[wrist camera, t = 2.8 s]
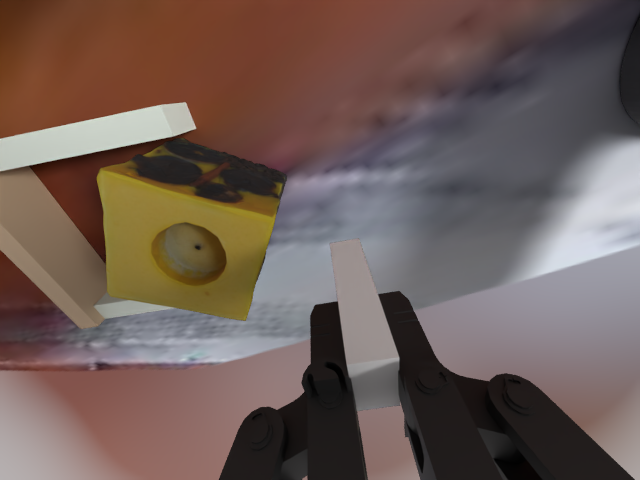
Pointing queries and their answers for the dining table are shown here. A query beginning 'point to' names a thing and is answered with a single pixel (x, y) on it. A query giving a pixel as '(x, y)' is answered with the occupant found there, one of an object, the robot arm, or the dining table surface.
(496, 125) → the dining table surface
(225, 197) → the candle
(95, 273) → the bay
